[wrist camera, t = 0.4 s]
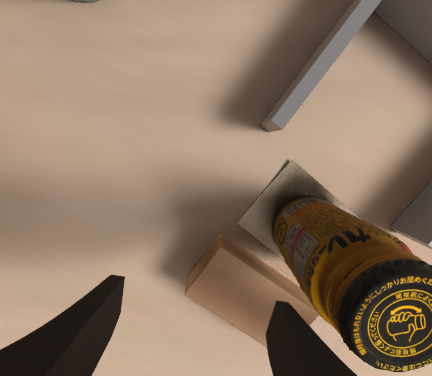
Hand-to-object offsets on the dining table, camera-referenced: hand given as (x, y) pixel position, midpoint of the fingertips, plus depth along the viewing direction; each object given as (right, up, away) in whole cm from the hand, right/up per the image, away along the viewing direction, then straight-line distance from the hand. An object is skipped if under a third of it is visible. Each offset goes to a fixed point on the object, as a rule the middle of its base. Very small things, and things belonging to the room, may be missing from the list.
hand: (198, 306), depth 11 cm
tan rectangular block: (+4, -3, +12) cm, 13 cm away
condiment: (+8, +3, +11) cm, 14 cm away
